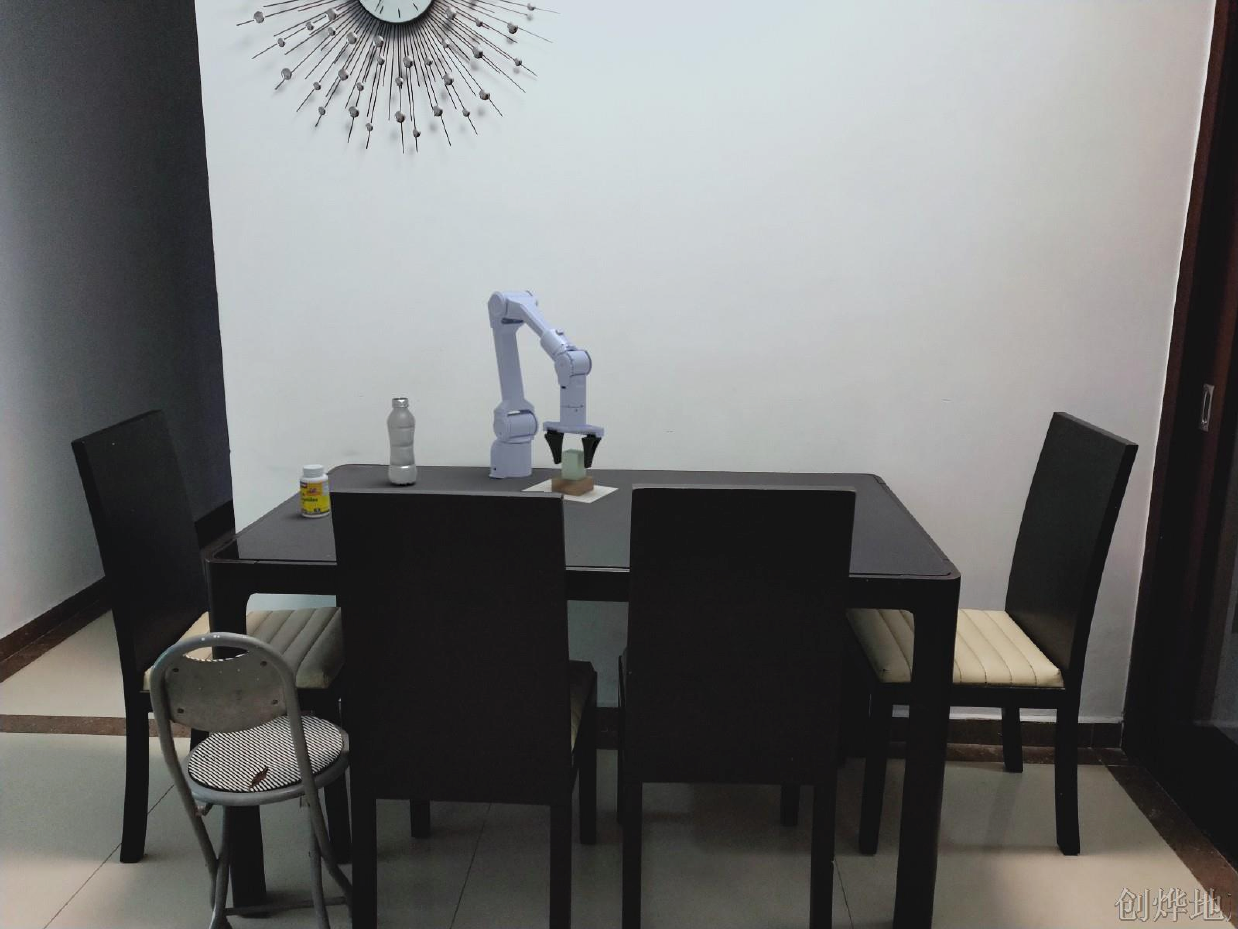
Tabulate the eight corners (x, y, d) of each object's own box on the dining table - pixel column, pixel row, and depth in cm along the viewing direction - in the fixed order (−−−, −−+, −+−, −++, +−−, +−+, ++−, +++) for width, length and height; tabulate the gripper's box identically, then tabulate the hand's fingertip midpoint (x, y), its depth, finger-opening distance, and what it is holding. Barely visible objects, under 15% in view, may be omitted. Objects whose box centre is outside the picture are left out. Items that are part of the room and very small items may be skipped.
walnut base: (551, 492, 211) (551, 479, 210) (566, 485, 217) (566, 473, 216) (578, 496, 208) (579, 483, 207) (593, 489, 214) (593, 476, 213)
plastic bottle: (382, 485, 218) (379, 399, 213) (400, 479, 224) (396, 395, 219) (406, 488, 215) (403, 402, 211) (423, 482, 222) (420, 397, 217)
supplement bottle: (296, 517, 192) (292, 468, 190) (312, 510, 197) (309, 462, 195) (319, 519, 190) (316, 470, 188) (335, 512, 196) (332, 464, 193)
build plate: (518, 495, 211) (518, 492, 210) (550, 482, 223) (550, 479, 223) (589, 506, 203) (589, 502, 203) (618, 491, 215) (618, 488, 215)
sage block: (561, 478, 211) (561, 452, 210) (570, 474, 215) (570, 448, 213) (577, 480, 209) (577, 454, 208) (585, 476, 213) (586, 450, 212)
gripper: (535, 405, 207) (535, 465, 211) (593, 411, 201) (593, 472, 204) (551, 400, 214) (551, 459, 217) (608, 406, 207) (607, 466, 210)
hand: (572, 465), depth 211 cm, fingers open, 7 cm apart
